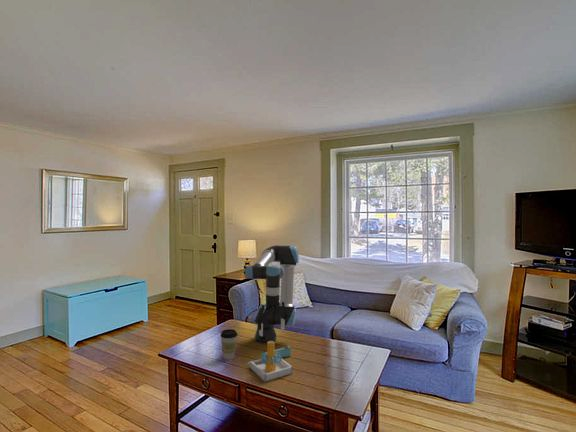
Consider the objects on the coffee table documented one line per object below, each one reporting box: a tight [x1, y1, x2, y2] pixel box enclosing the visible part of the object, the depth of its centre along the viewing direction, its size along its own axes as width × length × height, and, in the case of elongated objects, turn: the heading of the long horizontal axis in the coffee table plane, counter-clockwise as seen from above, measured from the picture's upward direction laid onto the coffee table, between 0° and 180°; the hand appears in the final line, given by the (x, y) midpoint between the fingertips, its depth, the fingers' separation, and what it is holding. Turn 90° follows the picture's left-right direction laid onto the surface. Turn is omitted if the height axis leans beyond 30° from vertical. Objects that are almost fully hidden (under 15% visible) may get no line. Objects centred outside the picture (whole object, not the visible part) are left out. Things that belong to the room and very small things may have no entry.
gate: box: [262, 345, 292, 362], centre depth 181 cm, size 18×2×6 cm, turn 122°
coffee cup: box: [220, 328, 238, 360], centre depth 182 cm, size 10×10×15 cm
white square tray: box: [246, 355, 294, 383], centre depth 169 cm, size 17×21×4 cm
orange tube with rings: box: [260, 341, 281, 372], centre depth 167 cm, size 12×10×15 cm
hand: (271, 333), depth 167 cm, fingers open, 13 cm apart
